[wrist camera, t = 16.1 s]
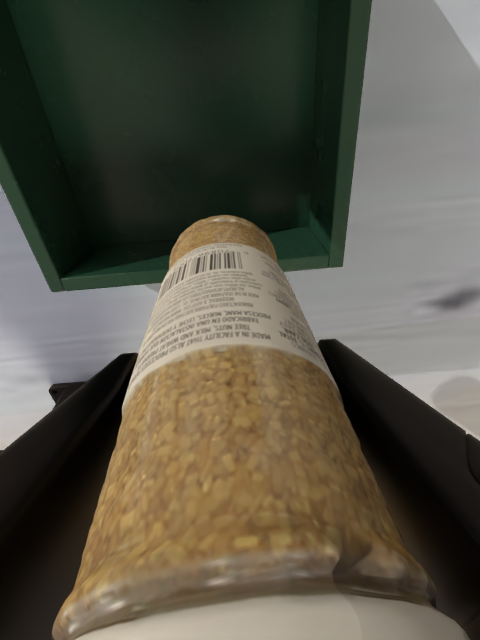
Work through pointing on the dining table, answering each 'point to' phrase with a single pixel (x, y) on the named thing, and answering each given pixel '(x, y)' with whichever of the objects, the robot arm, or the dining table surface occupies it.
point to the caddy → (177, 128)
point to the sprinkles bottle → (241, 477)
